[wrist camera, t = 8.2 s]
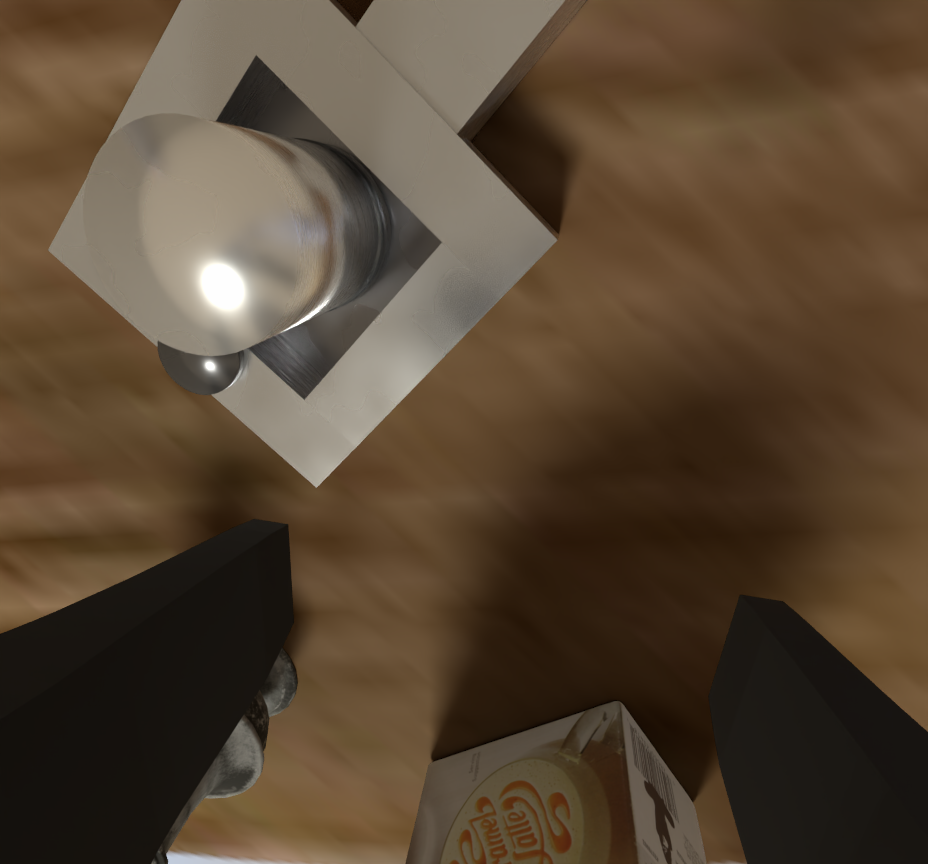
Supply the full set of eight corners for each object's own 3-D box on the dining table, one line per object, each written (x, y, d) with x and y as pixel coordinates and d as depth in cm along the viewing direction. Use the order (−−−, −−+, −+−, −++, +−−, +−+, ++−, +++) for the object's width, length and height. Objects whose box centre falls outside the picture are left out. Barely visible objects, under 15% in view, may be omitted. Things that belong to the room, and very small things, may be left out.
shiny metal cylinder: (411, 176, 16) (324, 165, 10) (366, 330, 17) (272, 391, 12) (258, 115, 16) (89, 70, 10) (229, 275, 17) (73, 309, 12)
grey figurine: (168, 599, 24) (-182, 948, 13) (305, 630, 23) (62, 1026, 12) (179, 703, 26) (-109, 1076, 15) (303, 734, 25) (98, 1147, 14)
